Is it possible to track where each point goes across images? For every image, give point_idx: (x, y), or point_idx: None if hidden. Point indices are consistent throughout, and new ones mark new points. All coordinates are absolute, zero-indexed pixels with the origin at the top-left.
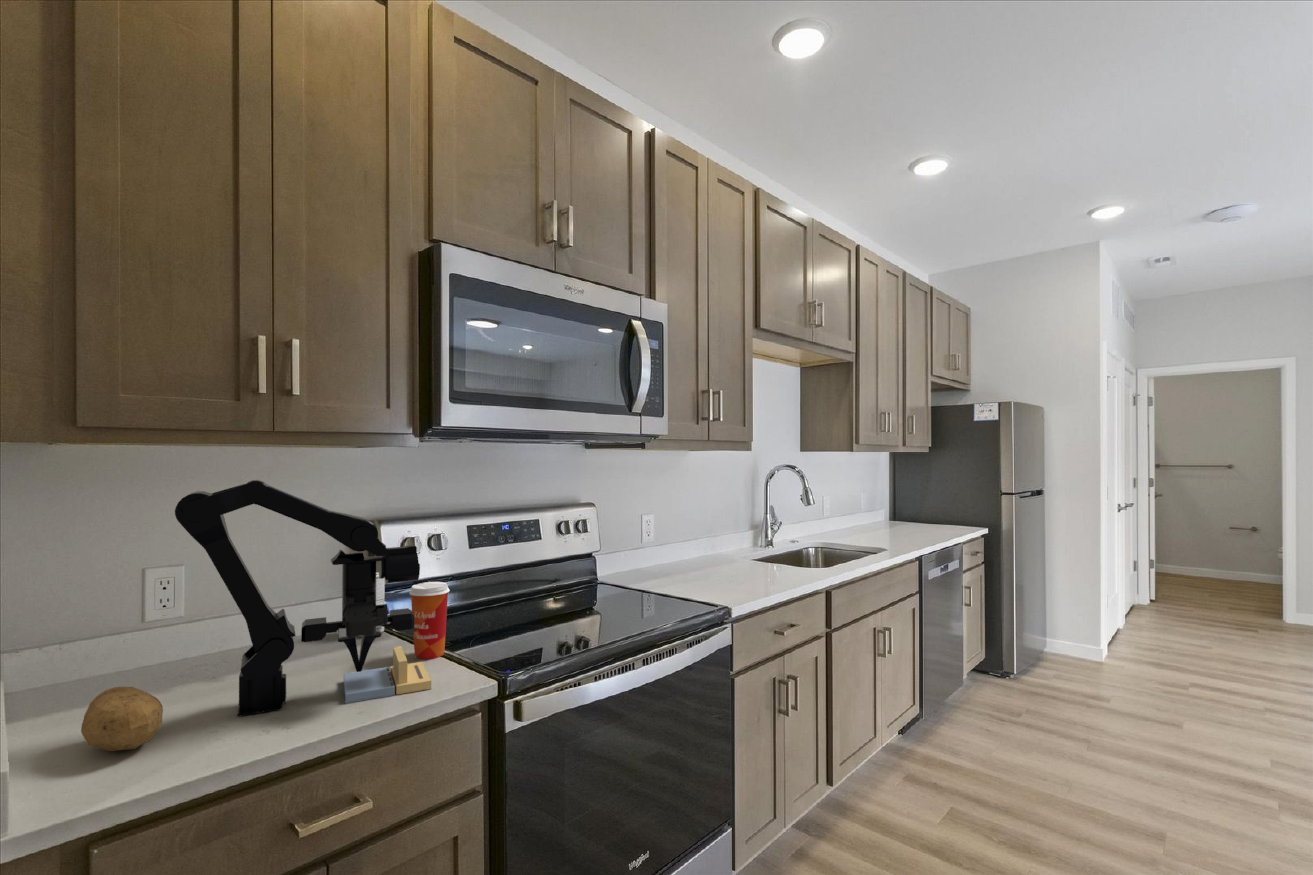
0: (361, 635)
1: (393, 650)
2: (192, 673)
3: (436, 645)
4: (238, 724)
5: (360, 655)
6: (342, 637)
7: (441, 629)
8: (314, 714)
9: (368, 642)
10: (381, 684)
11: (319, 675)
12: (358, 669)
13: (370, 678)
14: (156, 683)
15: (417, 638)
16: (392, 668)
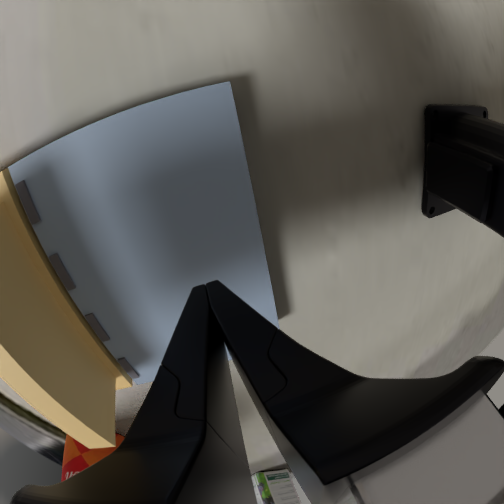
0: (269, 472)
1: (110, 432)
2: (471, 338)
3: (68, 454)
4: (472, 57)
5: (215, 357)
6: (467, 420)
7: None
8: (325, 9)
9: (146, 449)
10: (74, 204)
11: (337, 356)
12: (210, 287)
13: (159, 292)
14: (498, 305)
15: None
16: (114, 371)
